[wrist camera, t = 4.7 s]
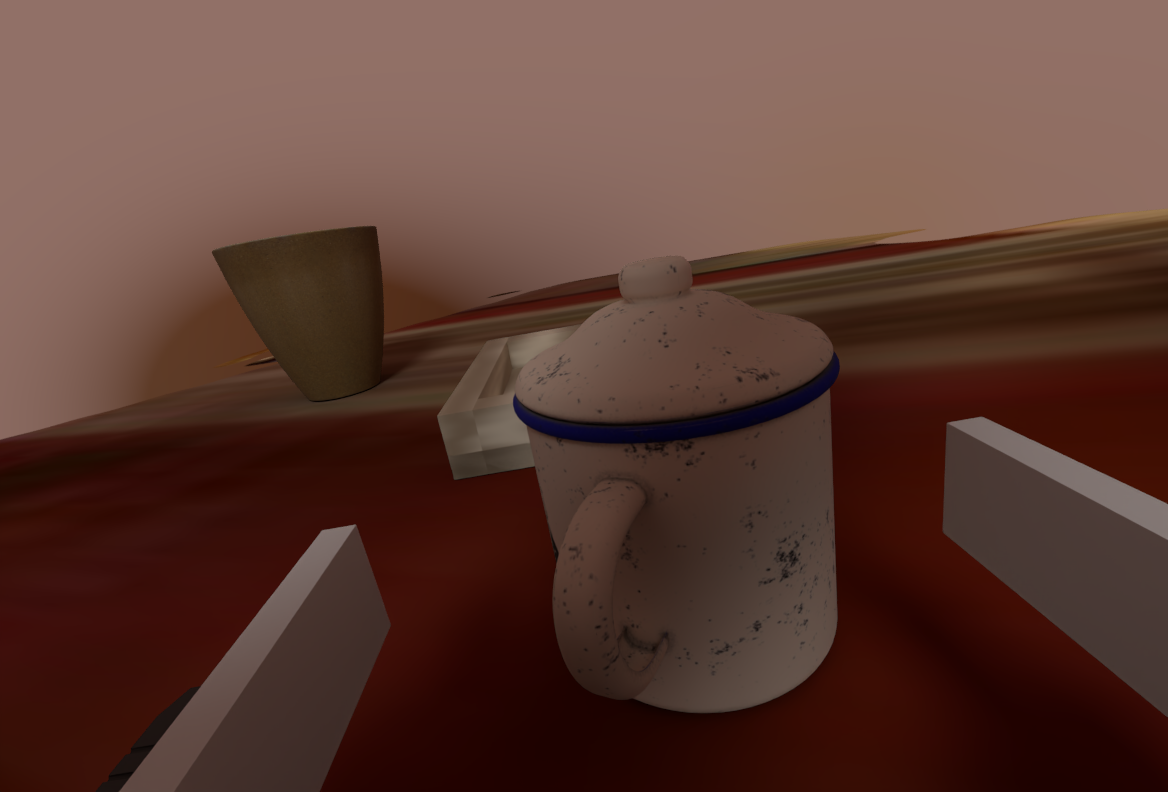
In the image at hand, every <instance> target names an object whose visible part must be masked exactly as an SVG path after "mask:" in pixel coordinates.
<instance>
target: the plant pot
mask: <svg viewBox="0 0 1168 792" xmlns="http://www.w3.org/2000/svg"><path fill="white" fill-rule="evenodd" d="M378 245H379V244H378V237H377V229H376V227H375V226H359V227H348V228H338V229H329V230H321V231H313V232H306V233H298V234H291V235H285V236H278V237H271V238H266V239H260V240H255V241H249V242H244V243H239V244H234V245H229V246H225V247H221V248H218V249H215V250H213V251H212V254H213V256H214V258H215V260H216V261H217V263H218V265H219V267H220V269H221V271H222V273H223V275H224V277H225V279H226V281H227V283H228V284H229V286H230V288H231V290H232V292H233V294H234V295H235V297H236V298H237V301H238V302H239V304H240V306H241V307H242V309H243V311H244V312H245V314H246V316H247V317H248V319H249V320H250V322H251V323H252V325H253V327H254V328H255V330H256V331H257V333H258V334H259V336H260V338H261V339H262V340H263V342H264V343H265V345H266V346H267V348H268V349H269V351H270V352H271V353H272V355H273V356H274V357H275V359H276V360H277V362H278V363H279V364H280V366H281V367H282V368H283V369H284V371H285V372H286V373H287V375H288V376H289V377H290V378H291V380H292V381H293V382H294V383H295V384H296V386H297V387H298V388H299V389H300V390H301V391H302V393H303V394H304V395H305V396H306V397H307V398H308V399H309V400H311V401H323V400H331V399H336V398H341V397H345V396H349V395H353V394H356V393H359V392H362V391H365V390H367V389H369V388H372V387H374V386H375V385H377V384H378V383H379V382H380V377H381V367H382V355H383V337H384V303H383V283H382V271H381V262H380V253H379V246H378Z"/></svg>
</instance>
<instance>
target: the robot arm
mask: <svg viewBox="0 0 1168 792" xmlns="http://www.w3.org/2000/svg"><path fill="white" fill-rule="evenodd" d="M943 533H945V534H946V535H947V536H948V537H949V538H951V539H952V540H953V541H954V542H955V543H957V544H958V545H959V546H960V547H962V548H963V549H964V550H965V551H966V552H968V553H969V554H970V555H971V556H972V557H974V558H975V559H976V560H977V561H979V562H980V563H981V564H982V565H983V566H985V567H986V568H987V569H988V570H989V571H991V572H992V573H993V574H994V575H996V576H997V577H998V578H999V579H1000V580H1002V581H1003V582H1004V583H1005V584H1006V585H1008V586H1009V587H1010V588H1011V589H1013V590H1014V591H1015V592H1016V593H1017V594H1019V595H1020V596H1021V597H1022V598H1023V599H1025V600H1026V601H1027V602H1028V603H1030V604H1031V605H1032V606H1033V607H1034V608H1036V609H1037V610H1038V611H1039V612H1040V613H1042V614H1043V615H1044V616H1045V617H1047V618H1048V619H1049V620H1050V621H1051V622H1053V623H1054V624H1055V625H1056V626H1057V627H1059V628H1060V629H1061V630H1062V631H1064V632H1065V633H1066V634H1067V635H1068V636H1070V637H1071V638H1072V639H1073V640H1074V641H1076V642H1077V643H1078V644H1079V645H1081V646H1082V647H1083V648H1084V649H1085V650H1087V651H1088V652H1089V653H1090V654H1091V655H1093V656H1094V657H1095V658H1096V659H1098V660H1099V661H1100V662H1101V663H1102V664H1104V665H1105V666H1106V667H1107V668H1108V669H1110V670H1111V671H1112V672H1113V673H1115V674H1116V675H1117V676H1118V677H1119V678H1121V679H1122V680H1123V681H1124V682H1125V683H1127V684H1128V685H1129V686H1130V687H1132V688H1133V689H1134V690H1135V691H1136V692H1138V693H1139V694H1140V695H1141V696H1142V697H1144V698H1145V699H1146V700H1147V701H1149V702H1150V703H1151V704H1152V705H1153V706H1155V707H1156V708H1157V709H1158V710H1159V711H1161V712H1162V713H1163V714H1164V715H1166V716H1167V717H1168V504H1166V503H1164V502H1162V501H1160V500H1158V499H1156V498H1154V497H1152V496H1149V495H1147V494H1145V493H1143V492H1141V491H1139V490H1137V489H1135V488H1132V487H1130V486H1128V485H1126V484H1124V483H1122V482H1120V481H1118V480H1115V479H1113V478H1111V477H1109V476H1107V475H1105V474H1103V473H1101V472H1098V471H1096V470H1094V469H1092V468H1090V467H1088V466H1086V465H1084V464H1081V463H1079V462H1077V461H1075V460H1073V459H1071V458H1069V457H1067V456H1064V455H1062V454H1060V453H1058V452H1056V451H1054V450H1052V449H1050V448H1047V447H1045V446H1043V445H1041V444H1039V443H1037V442H1035V441H1033V440H1030V439H1028V438H1026V437H1024V436H1022V435H1020V434H1018V433H1016V432H1013V431H1011V430H1009V429H1007V428H1005V427H1003V426H1001V425H999V424H996V423H994V422H992V421H990V420H988V419H986V418H984V417H978V418H972V419H967V420H961V421H955V422H949V423H947V433H946V460H945V487H944V514H943ZM390 626H391V624H390V621H389V618H388V615H387V613H386V610H385V607H384V604H383V601H382V598H381V595H380V592H379V589H378V587H377V584H376V581H375V578H374V575H373V572H372V569H371V566H370V563H369V561H368V558H367V555H366V552H365V549H364V546H363V543H362V540H361V537H360V535H359V532H358V529H357V526H356V525H351V526H345V527H340V528H334V529H328V530H322V532H321V533H320V534H319V535H318V537H317V538H316V539H315V541H314V542H313V543H312V544H311V546H310V547H309V548H308V550H307V551H306V552H305V553H304V555H303V556H302V557H301V559H300V560H299V561H298V562H297V564H296V565H295V566H294V568H293V569H292V570H291V571H290V573H289V574H288V575H287V577H286V578H285V579H284V580H283V582H282V583H281V584H280V586H279V587H278V588H277V589H276V591H275V592H274V593H273V595H272V596H271V597H270V598H269V600H268V601H267V602H266V604H265V605H264V606H263V607H262V609H261V610H260V611H259V613H258V614H257V615H256V616H255V618H254V619H253V620H252V622H251V623H250V624H249V625H248V627H247V628H246V629H245V631H244V632H243V633H242V634H241V636H240V637H239V638H238V640H237V641H236V642H235V643H234V645H233V646H232V647H231V649H230V650H229V651H228V652H227V654H226V655H225V656H224V658H223V659H222V660H221V661H220V663H219V664H218V665H217V667H216V668H215V669H214V670H213V672H212V673H211V674H210V676H209V677H208V678H207V679H206V681H205V682H204V683H203V685H202V686H200V687H194V688H190V689H189V690H188V691H187V692H185V693H184V694H183V695H182V696H181V697H180V698H178V699H177V700H176V701H175V702H174V703H172V704H171V705H170V706H169V707H168V708H167V709H165V710H164V711H163V712H162V713H161V714H160V715H158V716H157V717H156V718H155V720H154V721H153V722H152V723H151V725H150V726H149V727H148V728H147V729H146V731H145V732H144V733H143V734H142V736H141V737H140V738H139V739H138V740H137V742H136V743H135V744H134V745H133V747H132V748H131V753H130V754H128V755H125V756H124V758H123V759H122V760H121V761H120V762H119V764H118V765H117V766H116V767H115V769H114V770H113V771H112V772H111V773H110V775H109V780H108V782H104V783H102V784H101V786H100V787H99V788H98V789H97V790H96V792H320V790H321V787H322V785H323V783H324V780H325V778H326V776H327V773H328V771H329V768H330V766H331V764H332V761H333V759H334V757H335V754H336V752H337V750H338V747H339V745H340V743H341V740H342V738H343V736H344V733H345V731H346V729H347V726H348V724H349V722H350V719H351V717H352V715H353V712H354V710H355V708H356V705H357V703H358V701H359V698H360V696H361V694H362V691H363V689H364V687H365V684H366V682H367V680H368V677H369V675H370V673H371V670H372V668H373V666H374V663H375V661H376V659H377V656H378V654H379V652H380V649H381V647H382V645H383V642H384V640H385V637H386V635H387V633H388V630H389V628H390Z"/></svg>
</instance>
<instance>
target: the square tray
mask: <svg viewBox="0 0 1168 792" xmlns="http://www.w3.org/2000/svg"><path fill="white" fill-rule="evenodd" d="M581 325H582V324H580V325H575V326H569V327H563V328H558V329H552V330H546V331H541V332H535V333H529V334H523V335H518V336H512V337H506V338H501V339H495V340H489V341H487V342H486V343H485V345H484V346H483V348H482V349H481V351H480V352H479V354H478V356H477V357H476V359H475V360H474V362H473V363H472V365H471V366H470V368H469V369H468V371H467V372H466V374H465V375H464V377H463V378H462V380H461V381H460V383H459V384H458V386H457V387H456V389H455V390H454V392H453V393H452V395H451V396H450V398H449V399H448V401H447V402H446V404H445V405H444V407H443V408H442V410H441V411H440V413H439V414H438V416H437V417H438V421H439V425H440V428H441V432H442V436H443V439H444V443H445V447H446V450H447V454H448V458H449V461H450V465H451V469H452V472H453V476H454V480H456V479H462V478H468V477H474V476H480V475H486V474H492V473H498V472H503V471H509V470H515V469H521V468H527V467H533V466H535V463H534V458H533V454H532V449H531V445H530V440H529V436H528V431H527V426H526V424H524V423H523V422H522V421H521V420H520V419H519V418H518V417H517V415H516V413H515V411H514V407H513V397H514V395H515V384H516V380H517V378H518V375H519V373H520V371H521V370H522V368H523V367H524V366H525V365H526V364H527V363H528V362H529V361H530V360H531V359H532V358H533V357H535V356H536V355H538V354H539V353H541V352H543V351H544V350H546V349H548V348H550V347H552V346H554V345H556V344H559V343H561V342H563V341H565V340H566V339H568V338H569V337H570V336H571V335H572V334H573V333H574V332H575V331H576V330H577V329H578V328H579V327H580V326H581Z"/></svg>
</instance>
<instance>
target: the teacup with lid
mask: <svg viewBox="0 0 1168 792" xmlns="http://www.w3.org/2000/svg"><path fill="white" fill-rule="evenodd" d="M618 281H619V287H620V292H621V294H622V296H623V297H624V298H625V300H621V301H618V302H615V303H613V304H610V305H608V306H606V307H604V308H602V309H600V310H599V311H597V312H595V313H594V314H593V315H592V316H590V317H589V318H588V319H587V320H586V321H585V322H584V323H583V324H582V325H581V326H580V327H579V328H578V329H577V330H576V331H575V332H574V333H573V334H572V335H571V336H570V337H569V338H568V339H566V340H565V341H563V342H561V343H559V344H556V345H554V346H552V347H550V348H548V349H546V350H544V351H543V352H541V353H539V354H538V355H536V356H535V357H533V358H532V359H531V360H530V361H529V362H528V363H527V364H526V365H525V366H524V367H523V368H522V370H521V371H520V373H519V375H518V378H517V380H516V384H515V395H514V397H513V407H514V411H515V413H516V415H517V417H518V418H519V419H520V420H521V421H522V422H523V423H524V424H526V426H527V431H528V436H529V440H530V445H531V449H532V454H533V458H534V463H535V467H536V472H537V477H538V481H539V486H540V490H541V495H542V499H543V504H544V509H545V513H546V518H547V522H548V527H549V531H550V536H551V540H552V545H553V550H554V554H555V559H556V563H557V565H556V570H555V576H554V584H553V617H554V625H555V631H556V636H557V640H558V644H559V648H560V651H561V654H562V657H563V659H564V661H565V664H566V666H567V668H568V669H569V671H570V673H571V674H572V676H573V677H574V678H575V680H576V681H577V682H578V683H579V684H580V685H581V686H582V687H583V688H585V689H586V690H588V691H590V692H591V693H594V694H597V695H600V696H604V697H608V698H612V699H616V700H628V699H631V698H633V699H636V700H638V701H641V702H643V703H646V704H649V705H652V706H656V707H659V708H663V709H668V710H673V711H680V712H688V713H721V712H729V711H736V710H741V709H745V708H750V707H753V706H756V705H759V704H762V703H766V702H768V701H770V700H772V699H775V698H777V697H779V696H781V695H783V694H785V693H787V692H788V691H790V690H792V689H794V688H795V687H796V686H798V685H799V684H801V683H802V682H803V681H805V680H806V679H807V678H808V677H809V676H810V675H811V674H812V673H813V672H814V671H815V670H816V669H817V668H818V666H819V665H820V664H821V663H822V661H823V659H824V658H825V656H826V655H827V653H828V652H829V649H830V647H831V645H832V643H833V640H834V636H835V633H836V626H837V592H836V562H835V531H834V501H833V471H832V440H831V410H830V387H831V386H832V385H833V384H834V382H835V380H836V379H837V377H838V374H839V369H840V366H839V359H838V357H837V355H836V353H835V352H834V351H833V345H832V343H831V341H830V340H829V338H828V337H827V336H826V334H825V333H824V332H823V331H822V330H821V329H820V328H819V327H817V326H816V325H814V324H812V323H810V322H808V321H806V320H803V319H800V318H797V317H793V316H789V315H783V314H777V313H768V312H763V311H760V310H757V309H755V308H753V307H751V306H749V305H747V304H745V303H744V302H742V301H740V300H738V299H736V298H734V297H732V296H730V295H727V294H725V293H722V292H717V291H711V290H703V289H690V287H691V285H692V272H691V266H690V264H689V262H688V261H687V260H686V259H685V258H684V257H681V256H666V257H659V258H652V259H647V260H642V261H637V262H633V263H630V264H627V265H625V266H624V267H623V268H622V269H621V271H620V273H619V277H618Z"/></svg>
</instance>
